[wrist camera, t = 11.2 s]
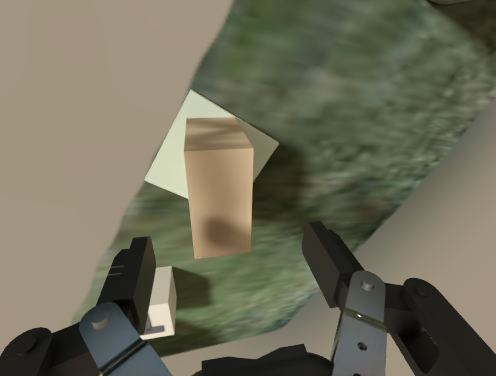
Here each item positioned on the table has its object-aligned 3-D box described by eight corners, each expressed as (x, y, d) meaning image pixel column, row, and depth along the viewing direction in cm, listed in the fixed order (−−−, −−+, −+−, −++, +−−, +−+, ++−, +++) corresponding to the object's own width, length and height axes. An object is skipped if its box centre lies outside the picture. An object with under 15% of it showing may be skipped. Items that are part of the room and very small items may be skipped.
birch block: (234, 117, 22) (253, 148, 15) (234, 197, 26) (250, 252, 19) (186, 118, 21) (183, 151, 14) (194, 201, 25) (194, 258, 18)
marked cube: (171, 265, 29) (167, 304, 25) (176, 295, 32) (174, 335, 27) (124, 271, 28) (112, 312, 24) (133, 301, 31) (123, 344, 26)
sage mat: (190, 88, 21) (191, 89, 20) (277, 141, 24) (279, 143, 24) (145, 177, 24) (144, 180, 23) (229, 213, 27) (229, 216, 27)
